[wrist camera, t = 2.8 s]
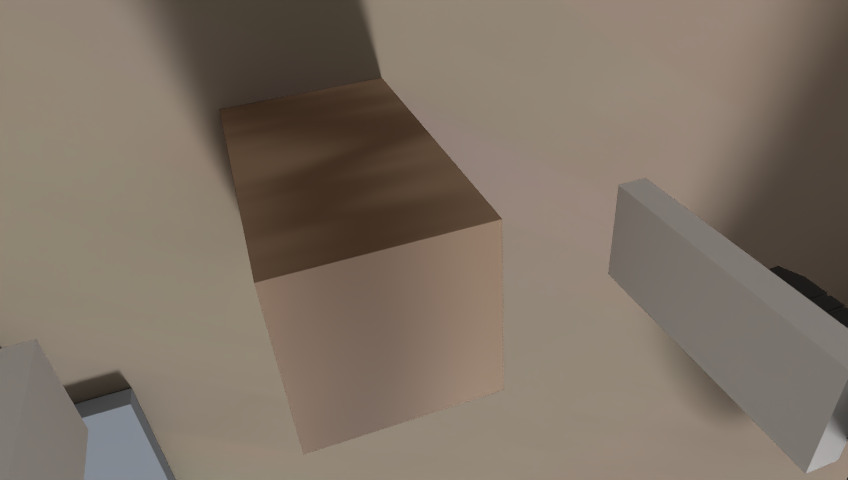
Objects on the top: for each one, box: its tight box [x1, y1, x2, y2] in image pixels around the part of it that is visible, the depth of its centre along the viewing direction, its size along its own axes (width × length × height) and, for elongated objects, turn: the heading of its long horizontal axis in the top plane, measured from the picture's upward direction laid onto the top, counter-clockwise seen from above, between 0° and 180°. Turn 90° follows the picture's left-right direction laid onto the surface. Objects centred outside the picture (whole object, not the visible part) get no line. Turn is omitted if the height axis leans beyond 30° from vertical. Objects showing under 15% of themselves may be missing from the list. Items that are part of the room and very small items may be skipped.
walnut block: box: [219, 78, 504, 454], centre depth 18 cm, size 5×5×9 cm
